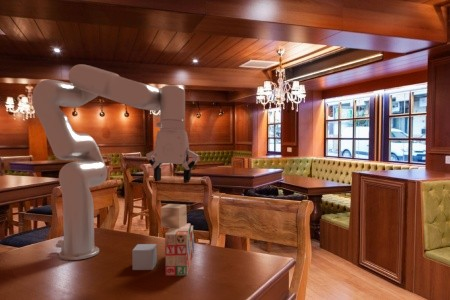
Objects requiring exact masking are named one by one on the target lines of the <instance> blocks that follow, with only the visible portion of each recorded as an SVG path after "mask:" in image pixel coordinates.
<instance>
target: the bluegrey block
mask: <svg viewBox="0 0 450 300" xmlns="http://www.w3.org/2000/svg"><path fill="white" fill-rule="evenodd" d="M157 249H158V248H157V244H156V243H137V244H136V245H135V246H134V248H133V249H132V250H131V251H132V252H131V253H132V257H131V258H132V271H152V270H154V268H155V267H156V264H157V263H158V258H157V256H158V254H157V253H158V252H157Z"/></svg>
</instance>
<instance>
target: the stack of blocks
mask: <svg viewBox="0 0 450 300" xmlns="http://www.w3.org/2000/svg"><path fill="white" fill-rule="evenodd" d="M194 236H195V235H194V225H191V223H189V222H188V223H186V224H185V225H183V226H182V227H180V228H170V227H168V229H167V231H166V232H165V234H164V242H165V243H164V246H165V247H164V255H165V265H164V266H165V276H166V277H168V276H169V277H172V276H173V277H177V276H181V277H182V276H184V277H185V276H186V277H187V276H188V272H190V267H191V263H192V259H193V256H194V253H195V237H194Z"/></svg>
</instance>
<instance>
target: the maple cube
mask: <svg viewBox="0 0 450 300" xmlns="http://www.w3.org/2000/svg"><path fill="white" fill-rule="evenodd" d="M187 220H188V217H187V204H180V203H167V204H165V205H163V206H161V207H160V228H180V227H182V226H183V225H185V224H186V223H187V222H188V221H187Z"/></svg>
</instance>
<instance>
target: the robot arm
mask: <svg viewBox="0 0 450 300" xmlns="http://www.w3.org/2000/svg"><path fill="white" fill-rule="evenodd" d="M68 79H69V82H66V81H62V80H57V79H44V80H41V81H39V82H38V83H37V84H36V85H35V87H33V91H32V94H31V95H32V96H31V103H32V109H33V110H34V113H35V115H36V117H37V118H38V120H39V122H40V124H41V125H42V128H43V131H44V133H45V136H46V139H47V141H48V143H49V145H50V147H51V150H52V153H53V155H54V156H55V158H57V159H58V160H60V161H71V162H69V163H66V164H64V165H63V166H62V167H61V169H60V170H59V173H58V181H59V186H60V189H61V195H62V197H61V198H62V215H63V216H62V218H63V219H62V220H63V222H62V224H63V226H62V227H63V239H59V240H58V241H57V243H55V247H56V248H61V250H60V251H59V252H58V258H60V259H61V260H64V261H65V260H66V261H80V260H85V259H89V258H92V257H95V256H97V255H98V254H99V253H100V248H99V246H96V245H95V215H94V214H95V213H94V210H95V208H94V199H93V197H94V196H93V195H92V192H91V190H90V188H93V187H97V186H100V185H102V184H104V182H105V181H106V180H107V177H108V169H107V165H106V162H105V161H104V158H103V156H102V153H101V151H100V148H99V146H98V145H97V142H96V141H95V139H94V137H92V136H91V135H89V134H88V133H85V132H76V131H75V130H74V128H73V127H72V124H71V121H70V119H69V118H68V116H67V115H66V114H65V112H63V111H62V109H61V108H60V107H65V108H79V107H82V106H84V105H85V104H87V103H89V102H91V101H92V100H93V99H96V98H97V97H102V98H105V99H109V100H110V101H114V102H118V103H120V104H124V105H127V106H129V107H132V108H136V109H140V110H146V111H151V112H157V111H159V112H160V113H159V114H160V115H159V117H160V118H159V122H156V124H155V126H156V128H159V129H160V130H157V132H156V136H155V142H154V150H151V151H149V152H148V153H146V154H145V156H146V159H147V161H148V164H149V165H151V168H152V169H153V179H154V182H159V181H160V182H161V180H162V168H161V166H162V164H176V165H177V164H181V165H182V167H183V168H184V170H183V184H188V183H190V181H191V176H192V174H191V171H192V169H193V167H194V166H196V164H197V162H198V160H199V159H200V155H198V154H197V153H195V152H194V151H192V150H190V144H189V143H190V142H189V136H188V132H187V131H186V90H185V88H184V87H183V86H180V85H172V84H171V85H170V84H169V85H164V86H162V87H156V86H153V85H149V84H146V83H143V82H138V81H136V80H133V79H128V78H126V77H123V76H120V75H119V73H118V74H117V73H115V72H112V71H108V70H105V69H103V68H102V69H101V68H98V67H95V66H92V65H87V64H80V63H79V64H76V65H74V66H72V67H71V68H70V69H69V71H68ZM190 157H191V158H192V159H191V160H192V161H190V162H189V160H190ZM75 160H77V161H75Z"/></svg>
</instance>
